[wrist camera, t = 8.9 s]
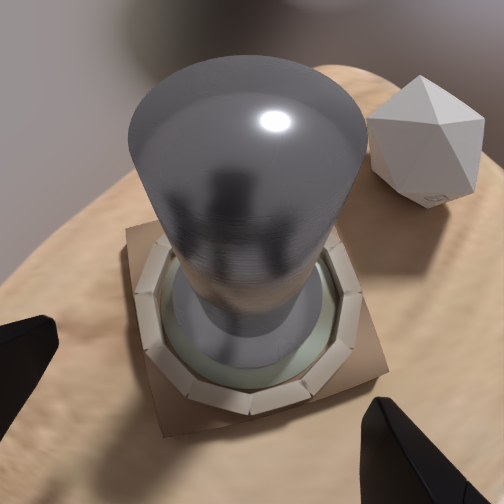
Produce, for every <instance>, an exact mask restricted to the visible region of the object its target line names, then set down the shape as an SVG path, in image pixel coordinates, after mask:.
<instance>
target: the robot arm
mask: <svg viewBox="0 0 504 504" xmlns="http://www.w3.org/2000/svg"><path fill="white" fill-rule="evenodd" d="M58 346H59V339H58V334H57V328H56V323H55V321H54V319H53V318H50V317H48V316H46V315H39V316H35V317H31V318H28V319H24V320H20V321H16V322H12V323H9V324H5V325H1V326H0V442H1V440H2V438H3V437H4V435H5V433H6V432H7V430H8V429H9V427H10V425H11V424H12V422H13V421H14V419H15V418H16V416H17V415H18V413H19V412H20V410H21V408H22V407H23V405H24V404H25V402H26V401H27V399H28V398H29V397H30V395H31V394H32V392H33V391H34V389H35V388H36V386H37V384H38V383H39V381H40V379H41V377H42V375H43V374H44V372H45V370H46V368H47V366H48V365H49V363H50V361H51V359H52V358H53V356H54V354H55V352H56V351H57V349H58ZM360 492H361V504H491V503H490V502H489V501H488V500H487V499H486V498H485V497H484V496H483V495H482V494H481V493H480V492H479V491H478V490H477V489H476V488H475V487H474V486H473V485H472V484H471V483H470V482H469V481H467V479H466V478H465V477H464V476H463V475H462V474H461V472H460V471H459V470H458V469H457V468H456V467H455V466H454V465H453V464H452V463H451V462H450V461H449V460H448V459H447V458H446V457H445V455H444V454H443V453H442V452H441V451H440V450H439V449H438V448H437V447H436V446H435V445H434V444H433V443H432V442H431V441H430V440H429V438H428V437H427V436H426V435H425V434H424V433H423V432H422V431H421V430H420V429H419V428H418V427H417V426H416V425H415V424H414V423H413V422H412V420H411V419H410V418H409V417H408V416H407V415H406V414H405V413H404V412H403V411H402V410H401V409H400V408H399V407H398V406H397V405H396V403H395V402H394V401H393V400H392V399H391V398H388V397H375V398H374V399H373V400H372V402H371V404H370V406H369V407H368V409H367V411H366V413H365V414H364V416H363V419H362V423H361V449H360Z"/></svg>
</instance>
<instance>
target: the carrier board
mask: <svg viewBox="0 0 504 504" xmlns="http://www.w3.org/2000/svg"><path fill="white" fill-rule="evenodd" d="M125 230H126V241H127V250H128V260H129V268H130V276H131V284H132V291H133V298H134V305H135V311H136V317H137V323H138V329H139V334H140V340H141V345H142V350H143V355H144V360H145V365H146V370H147V374H148V379H149V383H150V388H151V392H152V396H153V400H154V404H155V408H156V412H157V416H158V420H159V423H160V427H161V431H162V434H163V438H166V437H172V436H178V435H184V434H190V433H195V432H200V431H206V430H210V429H215V428H220V427H224V426H229V425H233V424H237V423H241V422H245V421H249V420H253V419H257V418H261V417H264V416H268V415H272V414H275V413H278V412H282V411H285V410H289V409H292V408H295V407H298V406H301V405H304V404H307V403H310V402H313V401H316V400H319V399H322V398H325V397H328V396H331V395H333V394H336V393H339V392H341V391H344V390H347V389H349V388H352V387H354V386H357V385H360V384H362V383H364V382H367V381H369V380H372V379H374V378H376V377H379V376H381V375H383V374H386V373H388V372H389V369H388V366H387V363H386V360H385V357H384V354H383V351H382V348H381V345H380V342H379V339H378V336H377V333H376V330H375V328H374V325H373V322H372V319H371V316H370V314H369V311H368V308H367V305H366V303H365V300H364V297H363V294H362V289H361V286H360V284H359V281H358V279H357V276H356V274H355V271H354V269H353V266H352V264H351V261H350V259H349V256H348V254H347V252H346V249H345V247H344V244H343V243H342V242H341V240H340V238H339V235H338V233H337V231H336V228H335V226H333V228H332V231H331V233H330V235H329V237H328V239H327V241H326V243H325V245H324V247H323V249H322V251H321V253H320V255H319V257H318V259H317V261H316V263H315V265H316V267H317V269H318V272H319V275H320V279H321V283H322V291H323V300H322V308H321V312H320V316H319V319H318V321H317V323H316V326H315V328H314V329H313V331H312V333H311V334H310V336H309V337H308V338H307V339H306V341H305V342H304V343H303V344H302V345H301V346H300V347H299V348H298V349H297V350H296V351H294V352H293V353H292V354H291V355H289V356H288V357H287V358H285V359H284V360H282V361H280V362H278V363H276V364H273V365H271V366H268V367H264V368H259V369H236V368H231V367H228V366H225V365H222V364H219V363H217V362H215V361H213V360H212V359H210V358H209V357H207V356H206V355H204V354H203V353H202V352H201V351H200V350H199V349H197V348H196V347H195V346H194V345H193V344H192V343H191V342H190V341H189V339H188V338H187V337H186V336H185V334H184V333H183V331H182V329H181V328H180V326H179V323H178V321H177V319H176V315H175V312H174V308H173V300H172V291H173V283H174V279H175V275H176V272H177V269H178V267H179V265H180V263H179V261H178V259H177V257H176V255H175V253H174V251H173V249H172V247H171V245H170V243H169V241H168V238H167V236H166V234H165V232H164V230H163V228H162V226H161V224H160V221H159V220H156V221H153V222H149V223H145V224H141V225H137V226H134V227H130V228H126V229H125Z"/></svg>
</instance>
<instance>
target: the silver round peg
mask: <svg viewBox="0 0 504 504" xmlns="http://www.w3.org/2000/svg"><path fill="white" fill-rule="evenodd" d="M367 144H368V133H367V127H366V123H365V119H364V117H363V115H362V113H361V110H360V109H359V107H358V106H357V104H356V103H355V101H354V100H353V99H352V97H351V96H350V95H349V94H348V93H347V92H346V91H345V90H344V89H343V88H342V87H341V86H340V85H338V84H337V83H336V82H334V81H333V80H332V79H330V78H329V77H327V76H325V75H324V74H322V73H320V72H318V71H316V70H314V69H312V68H310V67H307V66H305V65H302V64H299V63H296V62H292V61H289V60H285V59H280V58H275V57H268V56H256V55H238V56H228V57H220V58H215V59H211V60H207V61H203V62H199V63H197V64H194V65H191V66H188V67H186V68H184V69H182V70H180V71H177V72H176V73H174V74H172V75H171V76H169V77H167V78H166V79H164V80H163V81H162V82H160V83H159V84H158V85H156V86H155V87H154V88H153V89H152V90H151V91H150V92H149V93H148V94H147V95H146V96H145V97H144V98H143V99H142V101H141V102H140V104H139V105H138V107H137V108H136V110H135V112H134V114H133V117H132V119H131V122H130V126H129V132H128V145H129V151H130V154H131V157H132V160H133V163H134V165H135V168H136V170H137V172H138V175H139V177H140V179H141V181H142V184H143V186H144V188H145V191H146V193H147V195H148V197H149V200H150V202H151V204H152V206H153V208H154V211H155V213H156V215H157V217H158V219H159V221H160V224H161V226H162V228H163V230H164V232H165V234H166V236H167V238H168V241H169V243H170V245H171V247H172V249H173V251H174V253H175V255H176V257H177V259H178V261H179V263H180V265H179V267H178V269H177V272H176V275H175V279H174V283H173V291H172V300H173V308H174V312H175V315H176V319H177V321H178V323H179V326H180V328H181V329H182V331H183V333H184V334H185V336H186V337H187V338H188V339H189V341H190V342H191V343H192V344H193V345H194V346H195V347H196V348H197V349H199V350H200V351H201V352H202V353H203V354H204V355H206V356H207V357H209V358H210V359H212V360H213V361H215V362H217V363H219V364H222V365H225V366H228V367H231V368H236V369H259V368H264V367H268V366H271V365H273V364H276V363H278V362H280V361H282V360H284V359H285V358H287V357H288V356H289V355H291V354H292V353H293V352H294V351H296V350H297V349H298V348H299V347H300V346H301V345H302V344H303V343H304V342H305V341H306V339H307V338H308V337H309V336H310V334H311V333H312V331H313V329H314V328H315V326H316V323H317V321H318V319H319V316H320V312H321V308H322V300H323V291H322V283H321V279H320V275H319V272H318V269H317V267H316V265H315V263H316V261H317V259H318V257H319V255H320V253H321V251H322V249H323V247H324V245H325V243H326V241H327V239H328V237H329V235H330V233H331V231H332V228H333V226H334V224H335V222H336V220H337V218H338V216H339V214H340V211H341V209H342V207H343V205H344V203H345V201H346V198H347V196H348V194H349V192H350V190H351V187H352V185H353V183H354V181H355V178H356V176H357V174H358V172H359V169H360V167H361V165H362V162H363V160H364V157H365V154H366V151H367Z"/></svg>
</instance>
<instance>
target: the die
mask: <svg viewBox="0 0 504 504" xmlns="http://www.w3.org/2000/svg"><path fill="white" fill-rule="evenodd" d="M366 120H367V128H368V137H369V146H370V156H371V168H372V170H373V171H374V172H375V173H376V174H377V175H379V176H380V177H381V178H382V179H383V180H384V181H386V182H387V183H388V184H389V185H390V186H391V187H392V188H393V189H395V190H396V191H397V192H398V193H399V194H401V195H403V196H405V197H407V198H409V199H411V200H412V201H414V202H416V203H418V204H420V205H422V206H423V207H425V208H427V209H428V208H431V207H434V206H437V205H440V204H443V203H446V202H449V201H452V200H455V199H458V198H460V197H463V196H466V195H469V194H472V193H474V191H475V186H476V181H477V175H478V169H479V163H480V156H481V148H482V141H483V133H484V123H485V119H484V118H483V117H482V116H481V115H479V114H478V113H477V112H475V111H474V110H472V109H471V108H470V107H468V106H467V105H466V104H464V103H463V102H461V101H460V100H458V99H457V98H456V97H454V96H453V95H451V94H449V93H448V92H447V91H445V90H443V89H442V88H440V87H439V86H437V85H436V84H434V83H432V82H431V81H429V80H427V79H426V78H424V77H422V76H421V75H419V76H418V77H417V78H416V79H414V80H413V81H412V82H410V83H409V84H408V85H407V86H405V87H404V88H403V89H402V90H400V91H399V92H398V93H397V94H395V95H394V96H393V97H392V98H390V99H389V100H388V101H387V102H385V103H384V104H383V105H382V106H381V107H379V108H378V109H377V110H376V111H374V112H373V113H372V114H371V115H369V116H368V117H367V118H366Z"/></svg>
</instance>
